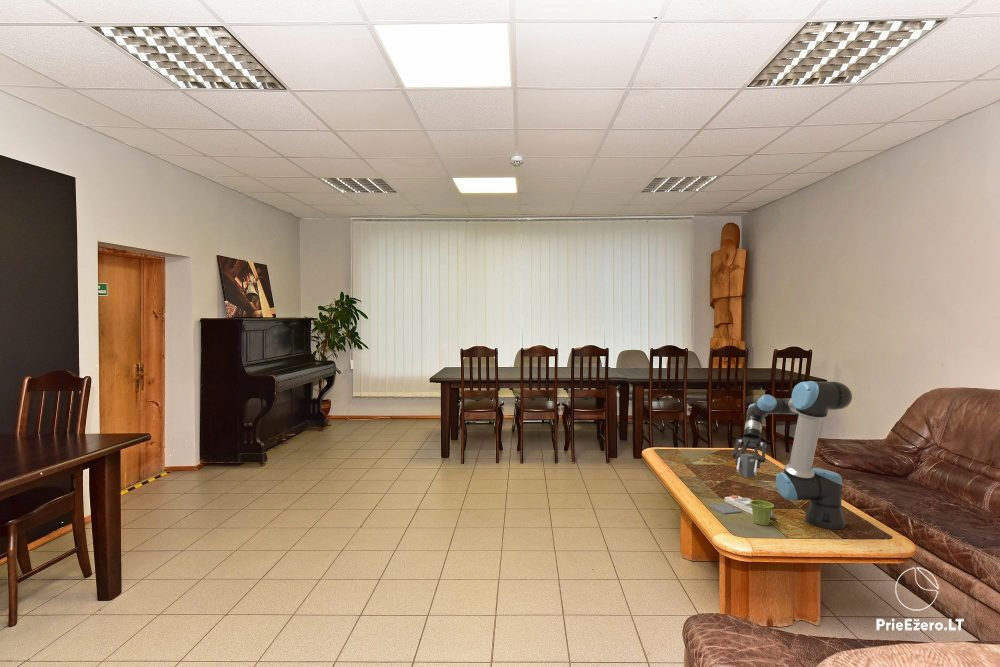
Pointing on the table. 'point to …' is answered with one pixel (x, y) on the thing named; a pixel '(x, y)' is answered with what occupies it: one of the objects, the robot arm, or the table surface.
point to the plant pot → (761, 511)
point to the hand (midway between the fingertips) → (746, 471)
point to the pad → (725, 509)
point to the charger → (747, 465)
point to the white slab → (743, 504)
